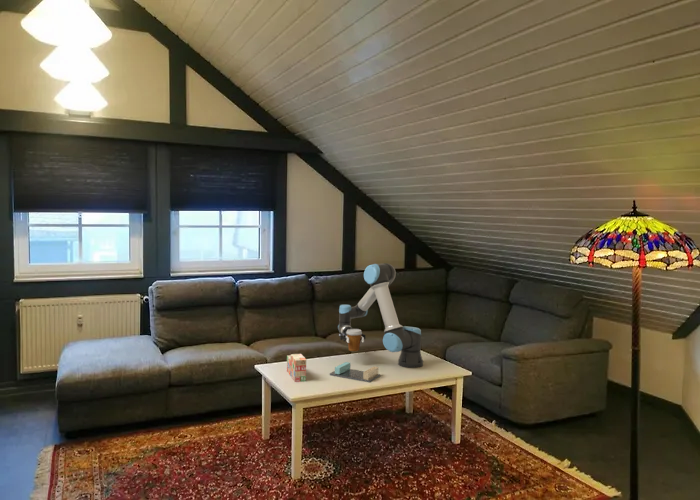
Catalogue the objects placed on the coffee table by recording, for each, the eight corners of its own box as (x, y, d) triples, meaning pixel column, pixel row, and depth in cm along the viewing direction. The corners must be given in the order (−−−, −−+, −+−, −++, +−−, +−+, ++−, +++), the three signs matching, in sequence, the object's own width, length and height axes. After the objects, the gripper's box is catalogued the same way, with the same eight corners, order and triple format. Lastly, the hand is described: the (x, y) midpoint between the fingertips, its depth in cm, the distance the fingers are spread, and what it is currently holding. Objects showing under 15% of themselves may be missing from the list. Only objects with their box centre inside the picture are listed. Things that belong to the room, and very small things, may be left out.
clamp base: (329, 375, 317) (329, 366, 316) (341, 369, 329) (341, 360, 329) (369, 382, 305) (369, 373, 305) (380, 376, 318) (380, 367, 317)
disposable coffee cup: (363, 351, 332) (363, 331, 332) (347, 352, 331) (347, 332, 330) (360, 347, 342) (360, 328, 341) (344, 348, 340) (345, 328, 339)
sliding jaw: (334, 373, 316) (334, 367, 315) (345, 368, 327) (345, 361, 327) (339, 374, 314) (339, 368, 314) (350, 368, 326) (350, 362, 326)
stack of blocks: (286, 371, 323) (286, 350, 322) (297, 370, 325) (297, 349, 324) (294, 382, 303) (295, 359, 302) (306, 381, 305) (306, 359, 304)
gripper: (363, 337, 356) (372, 345, 334) (331, 338, 351) (338, 347, 329) (364, 325, 355) (373, 333, 333) (331, 326, 351) (338, 334, 329)
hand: (355, 340), depth 331 cm, fingers closed on disposable coffee cup, 8 cm apart
